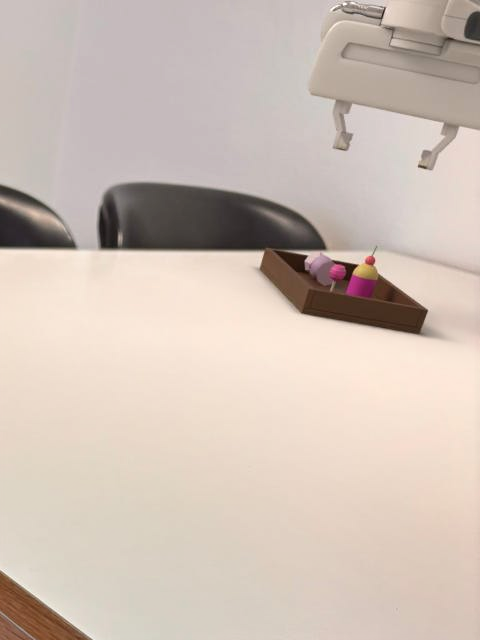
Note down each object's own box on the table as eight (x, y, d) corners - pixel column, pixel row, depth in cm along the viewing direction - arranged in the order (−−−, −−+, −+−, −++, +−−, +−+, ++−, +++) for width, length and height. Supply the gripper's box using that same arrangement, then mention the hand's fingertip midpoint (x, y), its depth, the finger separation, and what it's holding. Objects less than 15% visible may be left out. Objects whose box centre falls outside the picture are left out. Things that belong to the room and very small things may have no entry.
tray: (361, 287, 134) (369, 266, 133) (419, 334, 116) (428, 310, 115) (259, 268, 133) (265, 247, 132) (301, 312, 115) (309, 288, 114)
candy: (282, 269, 132) (298, 218, 129) (344, 280, 133) (361, 230, 130) (321, 306, 116) (339, 249, 113) (391, 319, 117) (411, 262, 114)
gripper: (324, -6, 111) (283, 139, 118) (527, 30, 104) (471, 181, 111) (337, 0, 116) (298, 138, 123) (532, 34, 109) (478, 179, 116)
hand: (381, 159), depth 117 cm, fingers open, 8 cm apart
